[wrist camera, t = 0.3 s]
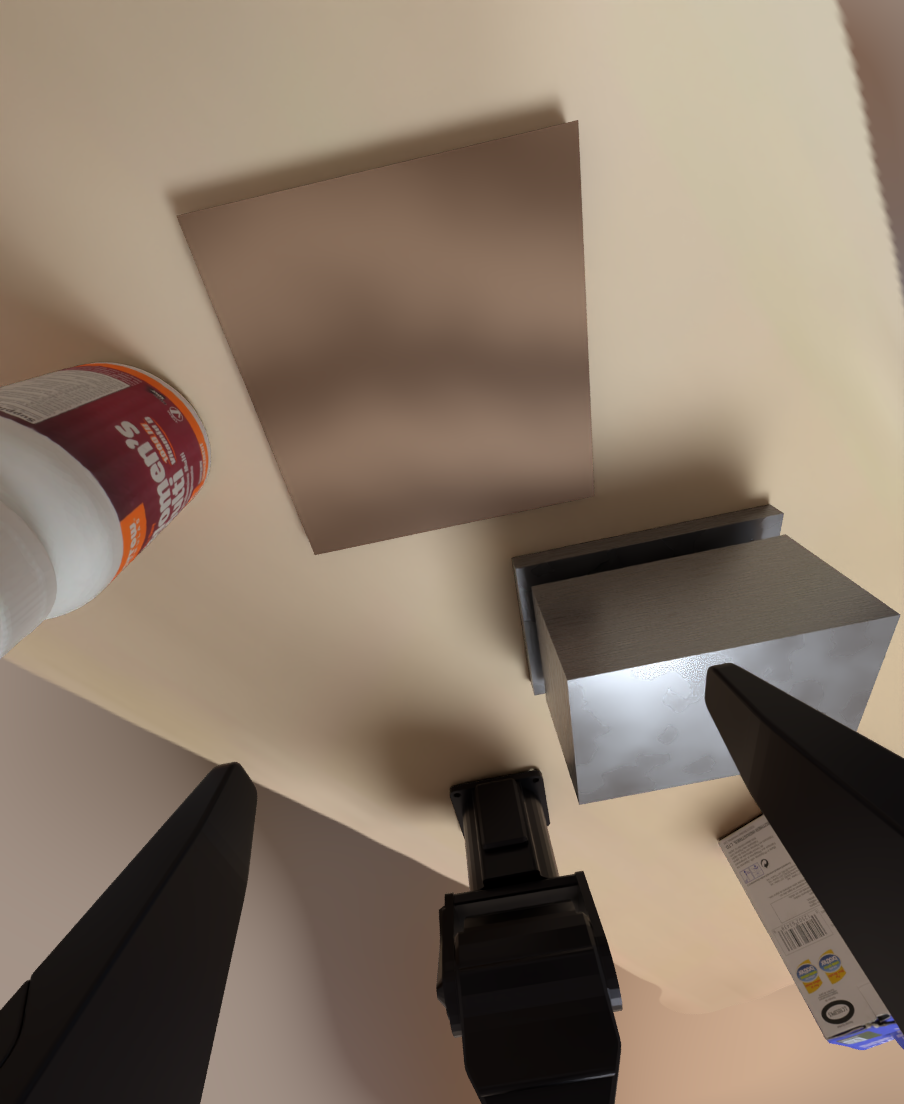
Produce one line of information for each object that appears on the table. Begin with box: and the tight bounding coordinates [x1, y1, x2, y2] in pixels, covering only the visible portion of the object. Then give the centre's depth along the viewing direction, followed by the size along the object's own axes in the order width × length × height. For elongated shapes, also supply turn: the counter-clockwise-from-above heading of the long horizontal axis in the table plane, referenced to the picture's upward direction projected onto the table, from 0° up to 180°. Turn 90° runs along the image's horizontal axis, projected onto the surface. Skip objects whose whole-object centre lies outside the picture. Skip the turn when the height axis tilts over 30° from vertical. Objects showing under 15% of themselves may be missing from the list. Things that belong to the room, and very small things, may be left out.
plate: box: [177, 120, 594, 555], centre depth 19 cm, size 13×13×1 cm
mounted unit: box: [512, 505, 900, 805], centre depth 23 cm, size 9×13×8 cm
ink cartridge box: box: [719, 815, 904, 1050], centre depth 33 cm, size 10×6×14 cm, turn 143°
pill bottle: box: [0, 362, 211, 659], centre depth 15 cm, size 6×6×11 cm
